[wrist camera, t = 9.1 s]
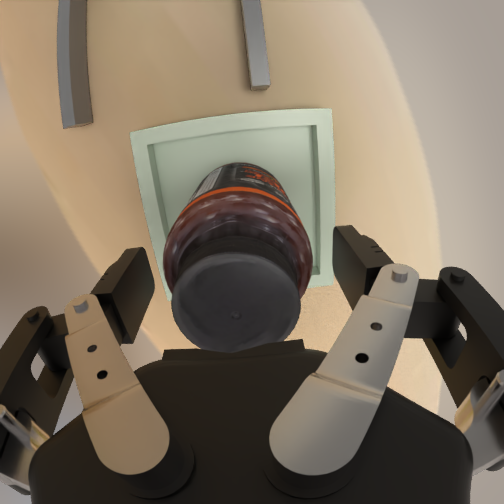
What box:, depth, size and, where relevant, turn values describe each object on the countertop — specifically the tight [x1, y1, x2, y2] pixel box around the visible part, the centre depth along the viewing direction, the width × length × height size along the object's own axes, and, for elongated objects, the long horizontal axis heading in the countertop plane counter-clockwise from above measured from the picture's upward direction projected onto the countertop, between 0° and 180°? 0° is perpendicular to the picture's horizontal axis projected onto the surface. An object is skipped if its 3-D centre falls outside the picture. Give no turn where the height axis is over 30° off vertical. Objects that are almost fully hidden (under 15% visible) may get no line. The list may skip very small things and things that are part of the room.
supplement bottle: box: [163, 162, 313, 353], centre depth 14 cm, size 6×6×11 cm
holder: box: [57, 0, 271, 129], centre depth 12 cm, size 13×13×2 cm
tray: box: [130, 108, 335, 301], centre depth 19 cm, size 12×12×2 cm
